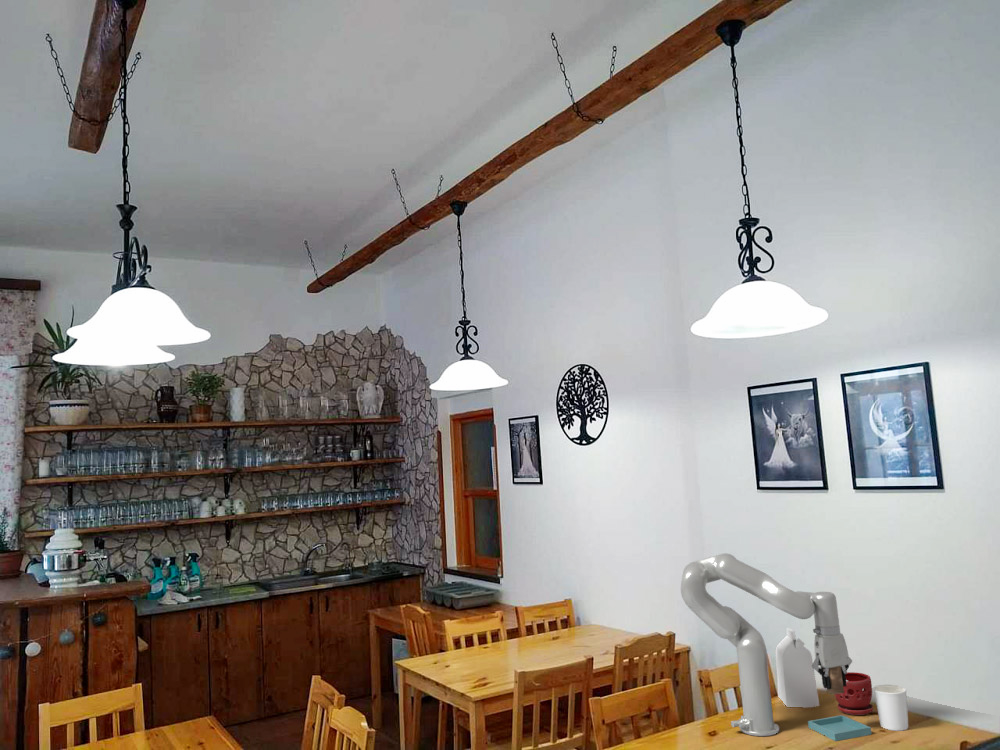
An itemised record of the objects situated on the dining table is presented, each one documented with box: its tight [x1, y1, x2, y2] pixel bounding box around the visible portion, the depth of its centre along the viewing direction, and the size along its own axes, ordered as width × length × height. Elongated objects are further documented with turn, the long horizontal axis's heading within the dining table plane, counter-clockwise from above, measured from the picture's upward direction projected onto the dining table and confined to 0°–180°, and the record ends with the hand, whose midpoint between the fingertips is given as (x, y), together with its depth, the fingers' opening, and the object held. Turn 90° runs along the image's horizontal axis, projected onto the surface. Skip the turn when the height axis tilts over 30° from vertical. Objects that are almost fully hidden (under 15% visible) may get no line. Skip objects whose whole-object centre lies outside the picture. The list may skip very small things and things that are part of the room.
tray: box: [807, 714, 872, 742], centre depth 255 cm, size 14×14×2 cm
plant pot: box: [833, 671, 874, 716], centre depth 274 cm, size 13×13×12 cm
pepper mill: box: [824, 666, 844, 694], centre depth 257 cm, size 5×5×10 cm
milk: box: [775, 627, 820, 708], centre depth 288 cm, size 12×12×26 cm
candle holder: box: [872, 684, 909, 732], centre depth 256 cm, size 10×10×12 cm
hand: (834, 686), depth 257 cm, fingers closed on pepper mill, 5 cm apart
